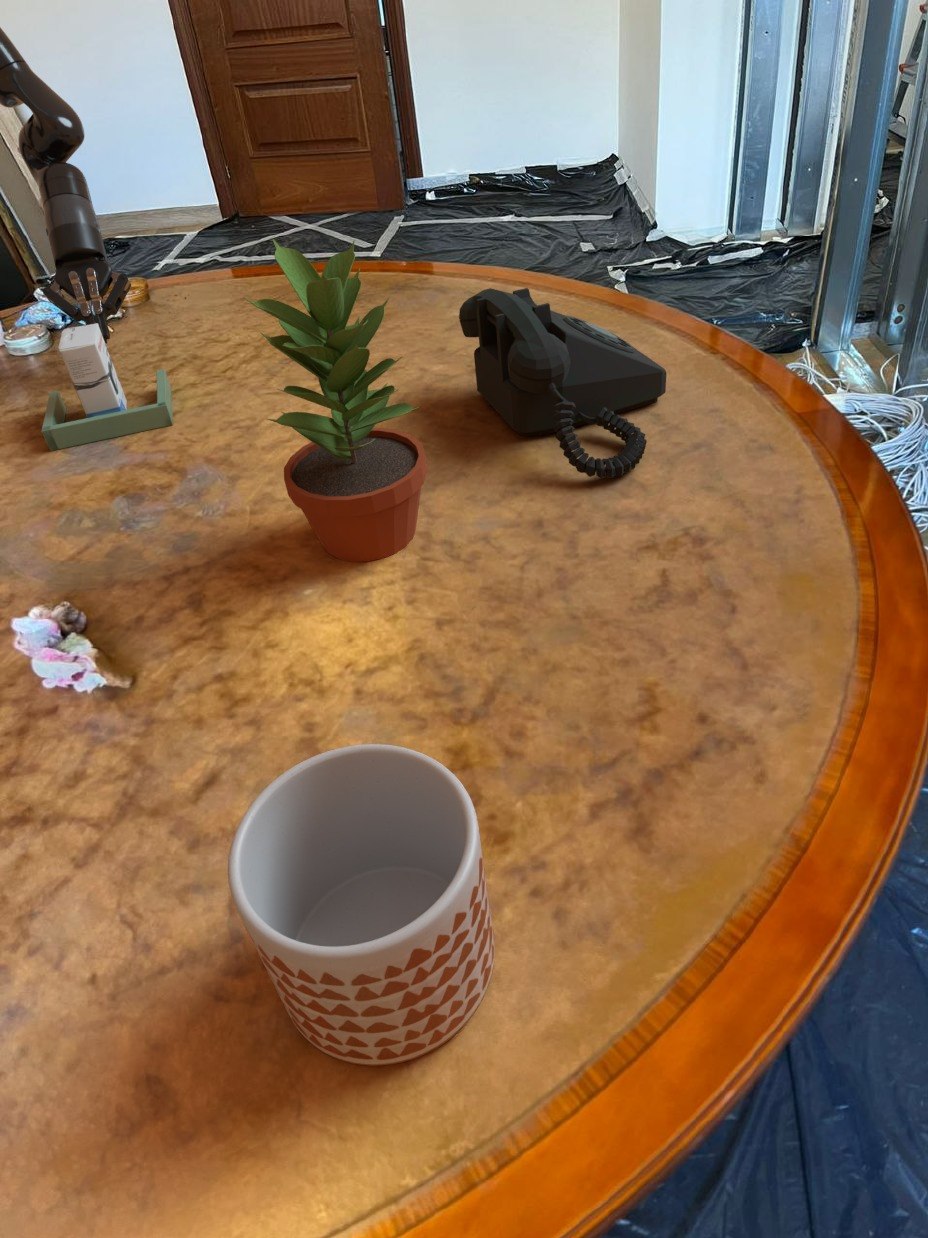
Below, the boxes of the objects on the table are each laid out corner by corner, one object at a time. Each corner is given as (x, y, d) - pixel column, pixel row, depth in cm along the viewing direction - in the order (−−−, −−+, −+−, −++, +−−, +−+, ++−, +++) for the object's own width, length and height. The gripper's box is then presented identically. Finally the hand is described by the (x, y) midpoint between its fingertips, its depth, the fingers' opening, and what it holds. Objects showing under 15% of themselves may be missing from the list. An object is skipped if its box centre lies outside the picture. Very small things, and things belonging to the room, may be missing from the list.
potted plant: (415, 582, 84) (363, 272, 65) (279, 567, 89) (192, 271, 70) (460, 501, 95) (426, 214, 76) (336, 491, 99) (274, 217, 80)
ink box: (127, 424, 119) (95, 342, 112) (91, 432, 118) (56, 350, 111) (128, 400, 125) (98, 320, 118) (94, 407, 125) (62, 328, 117)
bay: (58, 411, 125) (49, 391, 123) (171, 387, 127) (164, 368, 126) (50, 451, 115) (41, 431, 113) (173, 424, 118) (166, 404, 116)
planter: (293, 874, 60) (245, 754, 52) (487, 854, 59) (470, 730, 51) (269, 1081, 49) (204, 970, 41) (505, 1057, 49) (487, 941, 41)
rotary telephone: (732, 449, 98) (747, 320, 88) (560, 498, 93) (557, 368, 84) (599, 349, 123) (599, 240, 113) (458, 385, 118) (446, 274, 109)
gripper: (126, 241, 134) (151, 344, 133) (38, 256, 132) (63, 361, 131) (112, 213, 127) (139, 322, 125) (20, 228, 125) (46, 339, 123)
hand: (100, 342), depth 128 cm, fingers closed
